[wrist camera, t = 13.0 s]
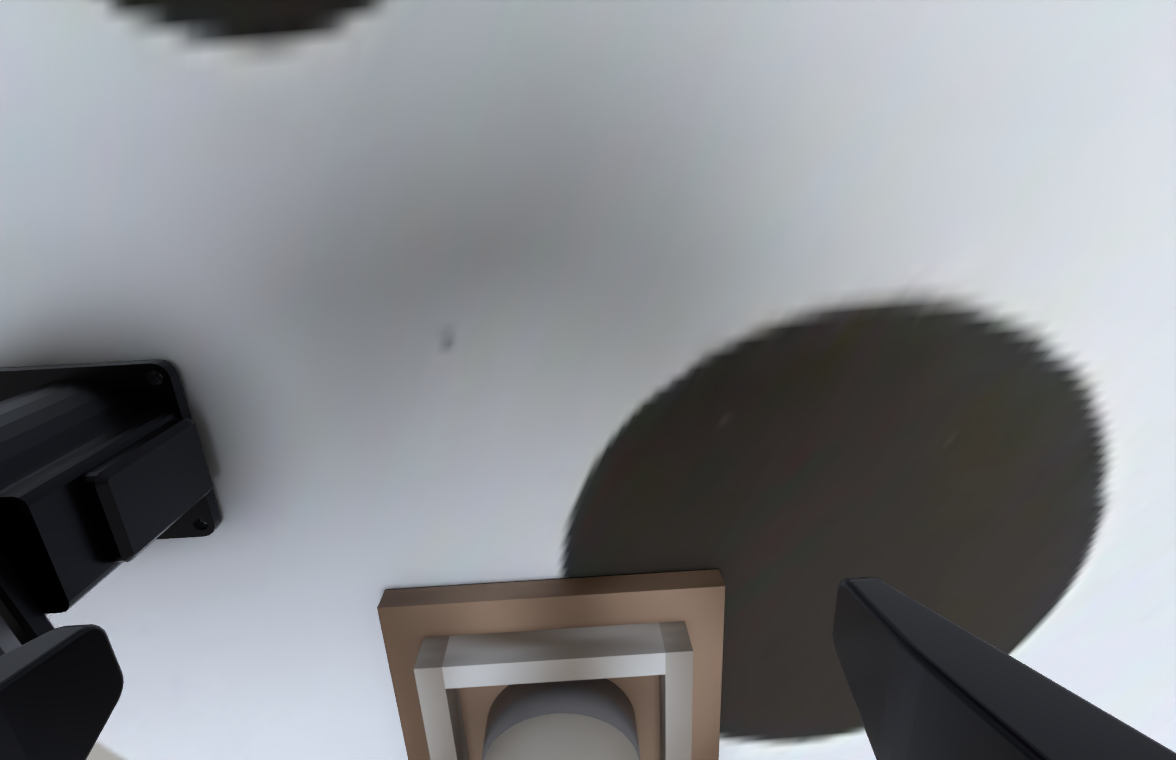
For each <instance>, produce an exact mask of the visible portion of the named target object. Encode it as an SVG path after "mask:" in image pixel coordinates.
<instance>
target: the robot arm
mask: <svg viewBox="0 0 1176 760" xmlns="http://www.w3.org/2000/svg"><path fill="white" fill-rule="evenodd" d="M155 371H157V372H158V373H160V374H161V376H162V377H163V381H160V380H159V379H157V377H156V376H155ZM212 486H213V485H212V481H211V478H210V475H209V471H208V468H207V464H206V461H205V458H204V454H203V451H202V448H201V444H200V441H199V437H198V434H197V431H196V427H195V425H194V423H193V422H192V419H191V415H190V412H189V409H188V405H187V402H186V398H185V395H184V392H183V388H182V385H181V382H180V378H179V375H178V372H177V370H176V368H175V367H174V366H173V365H172V364H171V363H169V362H167V361H165V360H142V361H123V362H105V363H87V364H68V365H50V366H32V367H13V368H0V760H86V758H87V757H88V755H89V753H90V751H91V750H92V748H93V746H94V744H95V742H96V740H97V739H98V737H99V735H100V733H101V731H102V729H103V728H104V726H105V724H106V722H107V720H108V719H109V717H110V715H111V713H112V711H113V709H114V708H115V706H116V704H117V702H118V700H119V698H120V696H121V693H122V689H123V683H124V681H123V674H122V671H121V668H120V666H119V663H118V661H117V658H116V656H115V654H114V651H113V649H112V646H111V644H110V641H109V639H108V636H107V634H106V632H105V630H103V629H102V628H101V627H100V626H97V625H92V624H90V625H73V626H63V627H59V628H56V629H55V628H54V626H53V625H52V623H51V622H50V621H49V619H48V618H47V616H46V615H47V614H49V613H62V612H65V611H67V610H68V609H69V608H71V607H72V606H73V605H74V604H75V603H76V602H78V601H79V600H80V599H81V598H82V597H83V596H84V595H86V594H87V593H88V592H89V591H90V590H91V589H93V588H94V587H95V586H96V585H97V584H98V583H99V582H101V581H102V580H103V579H104V578H105V577H106V576H108V575H109V574H110V573H111V572H112V571H113V570H115V569H116V568H117V567H118V566H119V565H120V564H121V563H123V562H129V561H131V560H133V559H134V558H135V557H136V556H137V555H138V554H139V553H141V552H142V551H143V550H144V549H145V548H146V547H147V546H149V545H150V544H151V543H152V542H153V541H154V540H155V539H169V538H186V537H202V536H208V535H210V534H211V533H213V532H214V531H215V530H216V529H217V528H218V527H219V525H220V523H221V516H220V513H219V510H218V506H217V503H216V500H215V496H214V493H213V489H212ZM200 518H201V519H203V520H205V521H206V522H207V524H204V523H203V522H201V520H200ZM832 636H833V644H834V648H835V652H836V655H837V657H838V660H839V662H840V665H841V668H842V670H843V673H844V676H845V678H846V681H847V683H848V686H849V689H850V691H851V694H852V696H853V699H854V702H855V704H856V707H857V710H858V712H859V715H860V717H861V720H862V723H863V725H864V728H865V731H866V733H867V736H868V738H869V741H870V744H871V746H872V749H873V751H874V754H875V757H876V759H877V760H1176V753H1175V752H1173V751H1172V750H1170V749H1168V748H1166V747H1165V746H1163V745H1161V744H1160V743H1158V742H1156V741H1154V740H1153V739H1151V738H1149V737H1148V736H1146V735H1144V734H1143V733H1141V732H1139V731H1137V730H1136V729H1134V728H1132V727H1131V726H1129V725H1127V724H1125V723H1124V722H1122V721H1120V720H1119V719H1117V718H1115V717H1114V716H1112V715H1110V714H1108V713H1107V712H1105V711H1103V710H1102V709H1100V708H1098V707H1096V706H1095V705H1093V704H1091V703H1090V702H1088V701H1086V700H1084V699H1083V698H1081V697H1079V696H1078V695H1076V694H1074V693H1073V692H1071V691H1069V690H1067V689H1066V688H1064V687H1062V686H1061V685H1059V684H1057V683H1055V682H1054V681H1052V680H1050V679H1049V678H1047V677H1045V676H1043V675H1042V674H1040V673H1038V672H1037V671H1035V670H1033V669H1032V668H1030V667H1028V666H1026V665H1025V664H1023V663H1021V662H1020V661H1018V660H1016V659H1014V658H1013V657H1011V656H1009V655H1008V654H1006V653H1004V652H1003V651H1001V650H999V649H997V648H996V647H994V646H992V645H991V644H989V643H987V642H985V641H984V640H982V639H980V638H979V637H977V636H975V635H973V634H972V633H970V632H968V631H967V630H965V629H963V628H962V627H960V626H958V625H956V624H955V623H953V622H951V621H950V620H948V619H946V618H944V617H943V616H941V615H939V614H938V613H936V612H934V611H933V610H931V609H929V608H927V607H926V606H924V605H922V604H921V603H919V602H917V601H915V600H914V599H912V598H910V597H909V596H907V595H905V594H903V593H902V592H900V591H898V590H897V589H895V588H893V587H892V586H890V585H888V584H886V583H885V582H883V581H881V580H879V579H877V578H874V577H861V578H846V579H844V580H842V581H841V582H840V583H839V585H838V589H837V596H836V605H835V613H834V622H833V631H832Z"/></svg>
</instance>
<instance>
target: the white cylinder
mask: <svg viewBox="0 0 1176 760" xmlns="http://www.w3.org/2000/svg"><path fill="white" fill-rule="evenodd" d="M481 760H641V758H640V750H639V742H638V734H637V727H636V719H635V712H634V709H633V706H632V704H631V702H630V700H629V698H628V697H627V696H626V694H625V693H624V692H623V691H622V690H621V689H620V688H619V687H618V686H617V685H616V684H614V683H613V682H612V681H610V680H608V679H607V678H603V679H588V680H573V681H557V682H542V683H527V684H511V685H508V686H507V687H506V688H505V689H503V690H502V692H501V693H500V694H499V695H498V696H497V697H496V699H495V700H494V702H493V704H492V706H491V708H490V710H489V713H488V717H487V724H486V731H485V738H484V745H483V751H482V758H481Z"/></svg>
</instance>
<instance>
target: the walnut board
mask: <svg viewBox="0 0 1176 760" xmlns="http://www.w3.org/2000/svg"><path fill="white" fill-rule="evenodd" d="M724 603H725V585H724V582H723V579H722V577H721V574H720V572H719V569H714V570H698V571H682V572H666V573H650V574H633V575H617V576H601V577H585V578H569V579H553V580H537V581H521V582H505V583H488V584H472V585H456V586H440V587H424V588H408V589H392V590H385V591H384V594H383V596H382V598H381V601H380V603H379V605H378V607H377V609H378V614H379V619H380V624H381V629H382V634H383V638H384V643H385V648H386V653H387V658H388V663H389V668H390V673H391V677H392V682H393V687H394V692H395V697H396V702H397V707H398V711H399V716H400V721H401V726H402V731H403V736H404V741H405V746H406V750H407V755H408V760H481V758H482V751H483V745H484V738H485V731H486V724H487V717H488V713H489V710H490V708H491V706H492V704H493V702H494V700H495V699H496V697H497V696H498V695H499V694H500V693H501V692H502V690H503V689H505V688H506V687H507V686H508V685H511V684H527V683H542V682H557V681H573V680H588V679H603V678H607V679H608V680H610V681H612V682H613V683H614V684H616V685H617V686H618V687H619V688H620V689H621V690H622V691H623V692H624V693H625V694H626V696H627V697H628V698H629V700H630V702H631V704H632V706H633V709H634V712H635V719H636V727H637V734H638V742H639V750H640V758H641V760H718V758H719V732H720V706H721V680H722V655H723V629H724Z"/></svg>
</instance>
